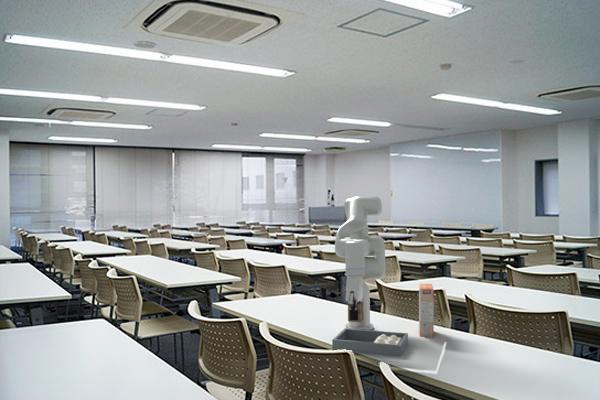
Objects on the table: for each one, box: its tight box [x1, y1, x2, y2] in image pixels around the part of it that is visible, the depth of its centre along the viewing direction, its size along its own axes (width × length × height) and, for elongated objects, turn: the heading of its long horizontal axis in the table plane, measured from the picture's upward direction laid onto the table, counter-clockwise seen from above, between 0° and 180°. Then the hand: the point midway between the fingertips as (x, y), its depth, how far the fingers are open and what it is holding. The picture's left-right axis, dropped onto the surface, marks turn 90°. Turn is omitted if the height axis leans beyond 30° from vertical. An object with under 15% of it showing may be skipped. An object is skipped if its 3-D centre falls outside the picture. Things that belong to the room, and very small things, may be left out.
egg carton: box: [374, 334, 401, 345], centre depth 202 cm, size 11×9×4 cm
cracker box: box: [418, 283, 435, 339], centre depth 225 cm, size 14×6×21 cm, turn 168°
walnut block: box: [347, 301, 364, 322], centre depth 206 cm, size 5×5×7 cm
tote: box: [331, 328, 409, 358], centre depth 204 cm, size 18×26×5 cm
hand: (355, 317), depth 206 cm, fingers closed on walnut block, 5 cm apart
